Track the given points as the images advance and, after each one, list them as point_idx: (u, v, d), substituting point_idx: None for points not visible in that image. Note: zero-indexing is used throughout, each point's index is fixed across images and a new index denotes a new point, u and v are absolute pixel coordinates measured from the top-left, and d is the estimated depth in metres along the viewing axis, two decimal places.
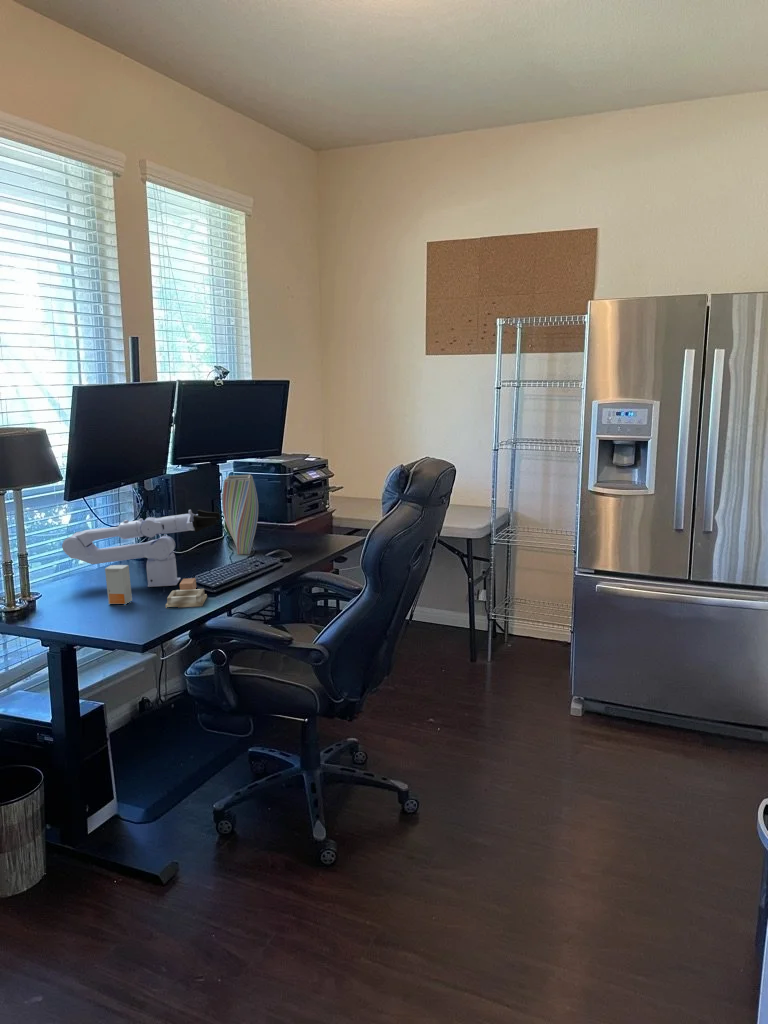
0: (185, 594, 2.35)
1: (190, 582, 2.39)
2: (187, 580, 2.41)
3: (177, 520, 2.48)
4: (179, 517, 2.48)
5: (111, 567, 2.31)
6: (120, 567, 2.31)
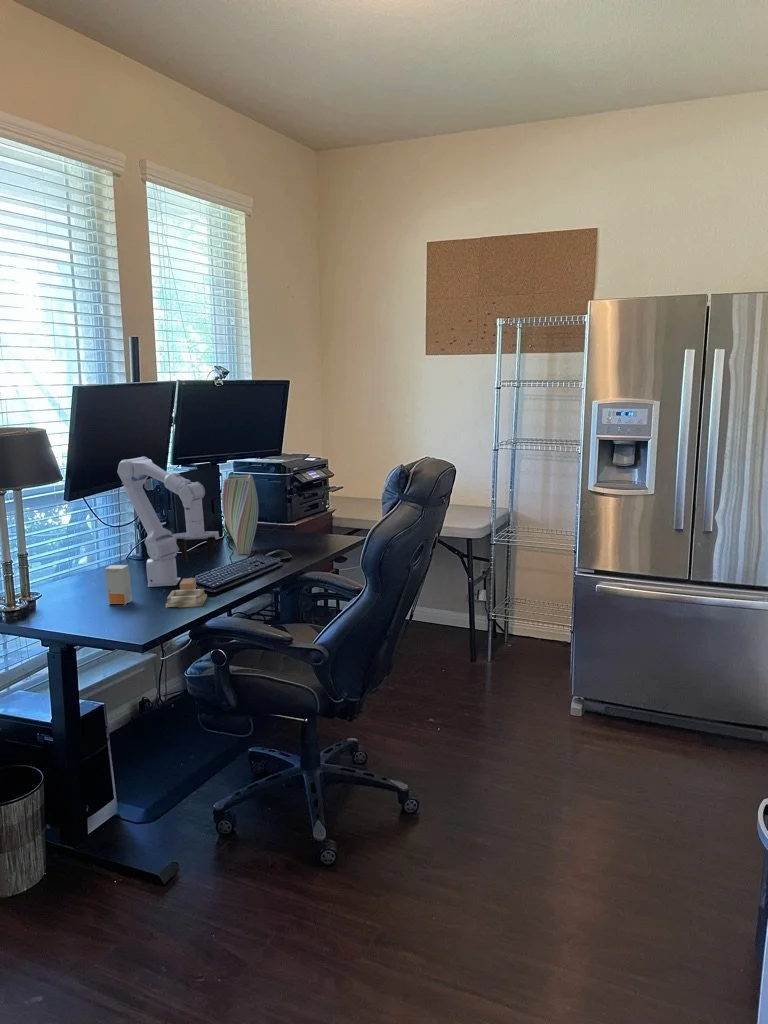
0: (185, 594, 2.35)
1: (190, 582, 2.39)
2: (187, 580, 2.41)
3: (186, 523, 2.42)
4: (188, 525, 2.41)
5: (111, 567, 2.31)
6: (120, 567, 2.31)
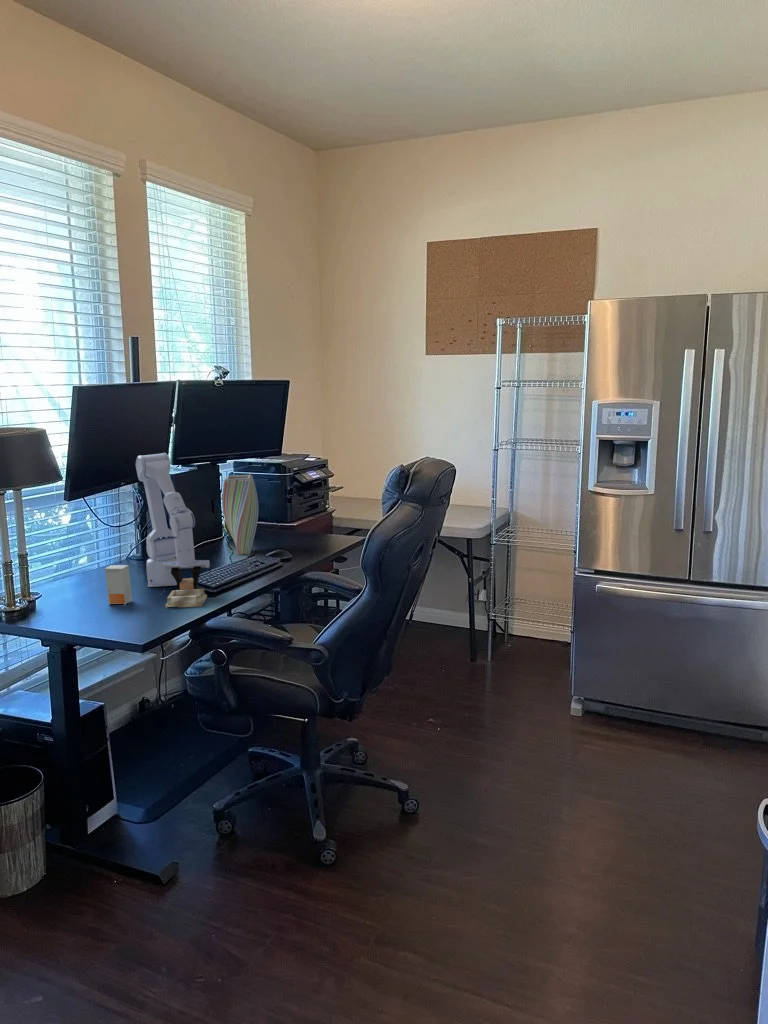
0: (185, 594, 2.35)
1: (190, 582, 2.39)
2: (187, 580, 2.41)
3: (176, 552, 2.37)
4: (177, 555, 2.36)
5: (111, 567, 2.31)
6: (120, 567, 2.31)
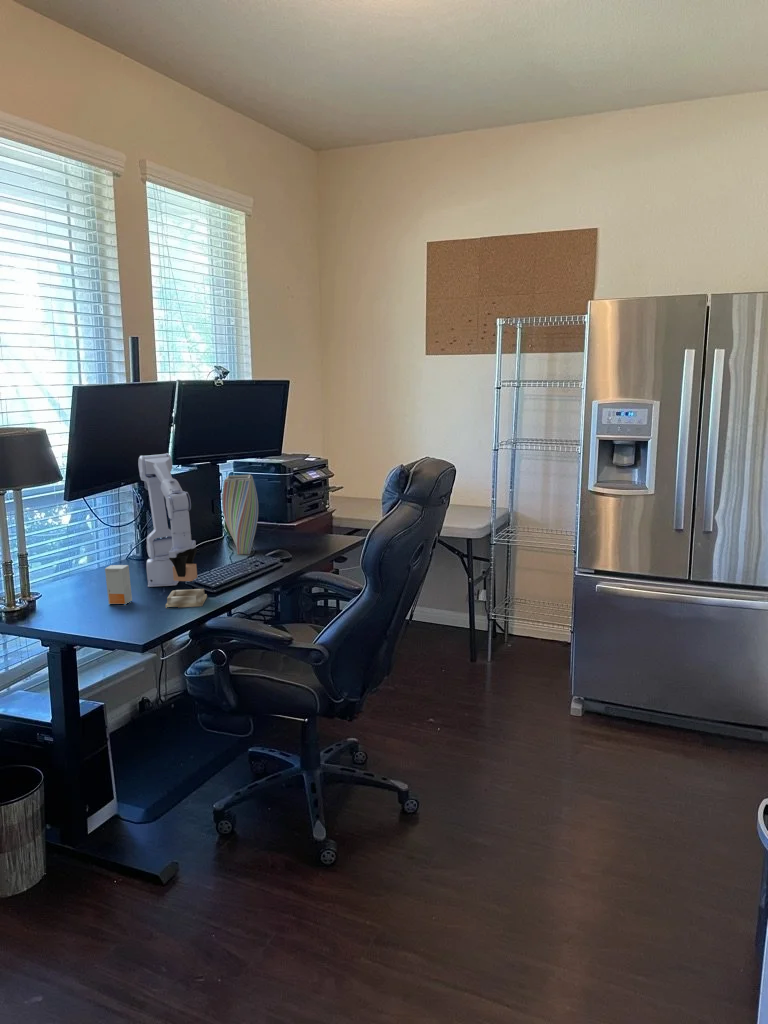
0: (185, 594, 2.35)
1: (191, 564, 2.33)
2: None
3: (182, 535, 2.28)
4: (185, 537, 2.28)
5: (111, 567, 2.31)
6: (120, 567, 2.31)
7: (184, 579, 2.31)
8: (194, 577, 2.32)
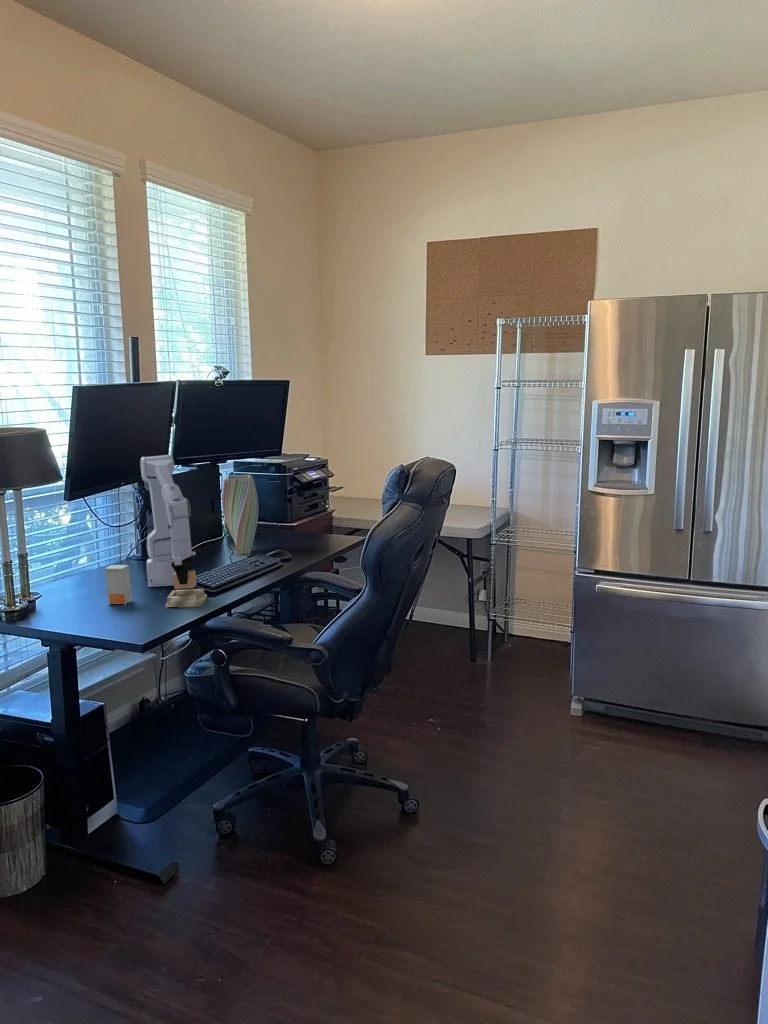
0: (185, 594, 2.35)
1: (191, 571, 2.32)
2: None
3: (184, 542, 2.26)
4: (187, 544, 2.27)
5: (111, 567, 2.31)
6: (120, 567, 2.31)
7: (186, 586, 2.29)
8: (195, 584, 2.32)
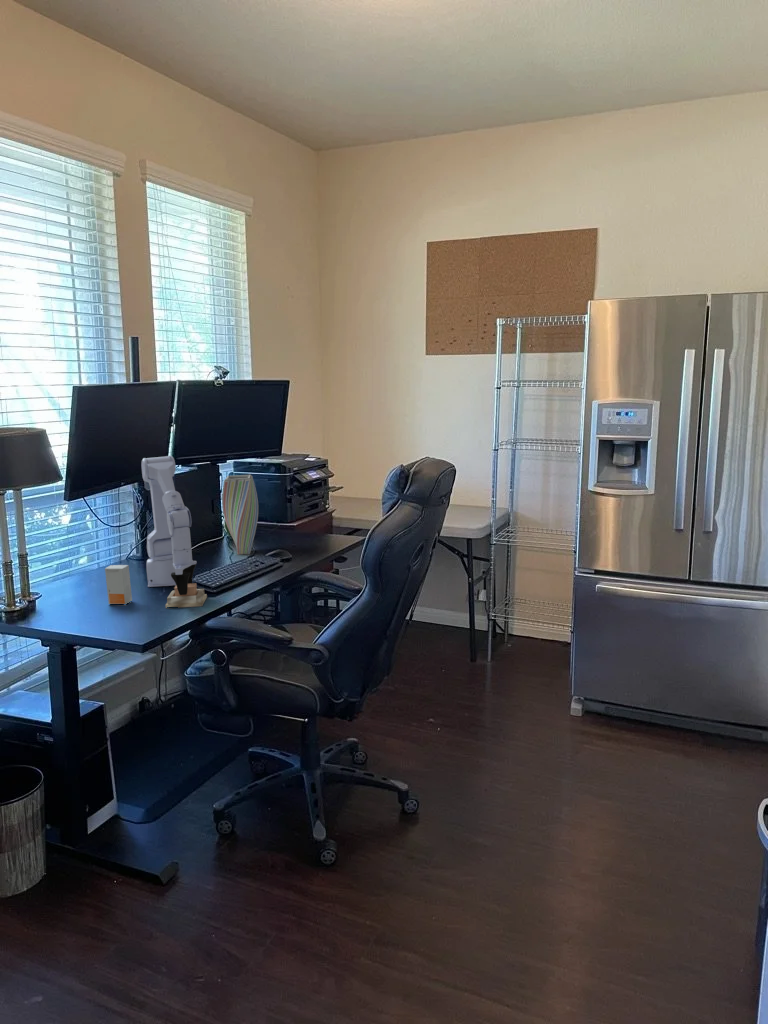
0: None
1: (192, 584, 2.33)
2: None
3: (185, 552, 2.27)
4: (188, 553, 2.28)
5: (111, 567, 2.31)
6: (120, 567, 2.31)
7: None
8: None
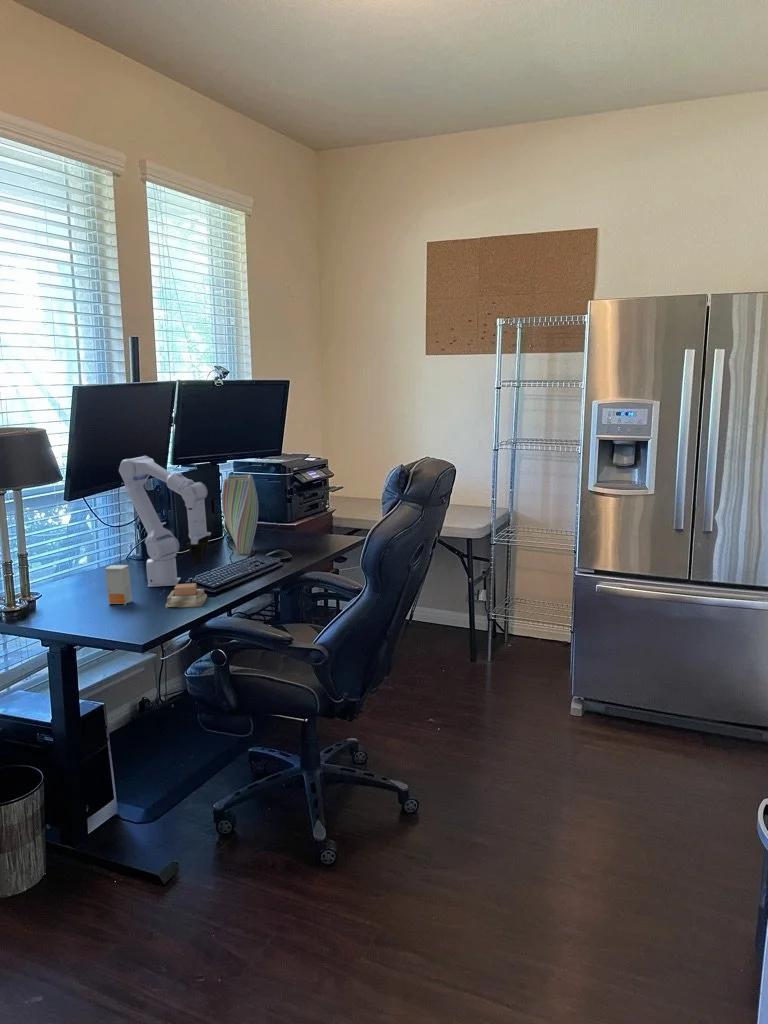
0: None
1: (192, 584, 2.33)
2: (183, 585, 2.31)
3: (200, 523, 2.41)
4: (203, 525, 2.42)
5: (111, 567, 2.31)
6: (120, 567, 2.31)
7: None
8: None
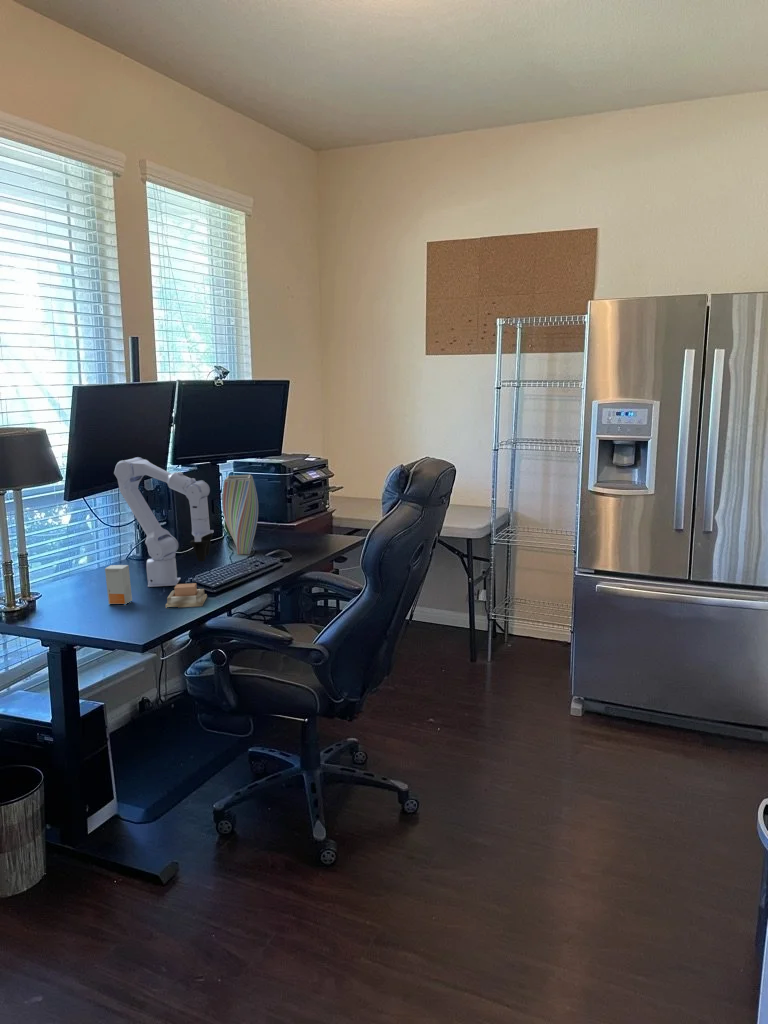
0: None
1: (192, 584, 2.33)
2: (183, 585, 2.31)
3: (203, 521, 2.44)
4: (206, 523, 2.44)
5: (111, 567, 2.31)
6: (120, 567, 2.31)
7: None
8: None
